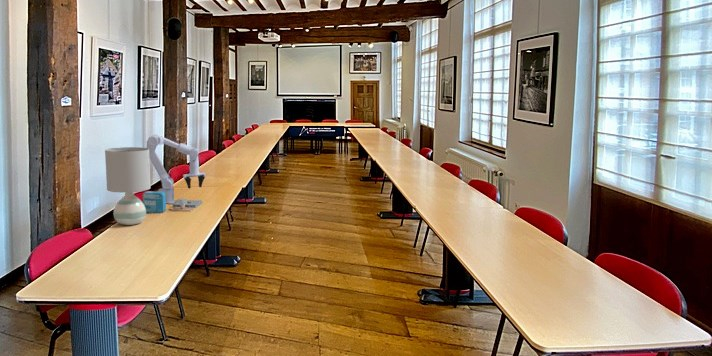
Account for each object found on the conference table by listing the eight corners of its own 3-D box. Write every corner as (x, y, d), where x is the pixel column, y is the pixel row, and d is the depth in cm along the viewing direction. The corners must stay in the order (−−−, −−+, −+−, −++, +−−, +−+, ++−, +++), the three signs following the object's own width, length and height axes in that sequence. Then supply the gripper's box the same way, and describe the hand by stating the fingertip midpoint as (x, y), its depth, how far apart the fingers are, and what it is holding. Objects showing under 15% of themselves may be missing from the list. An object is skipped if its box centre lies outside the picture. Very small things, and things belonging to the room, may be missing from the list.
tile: (170, 210, 325) (170, 209, 325) (175, 207, 333) (175, 207, 333) (190, 211, 325) (190, 210, 325) (194, 208, 333) (194, 207, 333)
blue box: (143, 212, 320) (142, 192, 318) (146, 210, 324) (145, 191, 322) (163, 213, 319) (162, 193, 317) (166, 211, 324) (165, 191, 322)
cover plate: (172, 207, 334) (172, 204, 334) (180, 202, 348) (180, 199, 348) (195, 208, 334) (195, 205, 334) (202, 203, 348) (202, 200, 348)
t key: (178, 208, 331) (177, 198, 330) (182, 207, 333) (181, 197, 331) (183, 210, 326) (182, 200, 325) (187, 209, 327) (186, 199, 326)
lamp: (99, 225, 288) (95, 150, 281) (129, 217, 308) (126, 146, 301) (131, 230, 280) (128, 152, 274) (160, 221, 300) (157, 148, 294)
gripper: (186, 168, 340) (187, 189, 343) (207, 166, 350) (208, 187, 352) (181, 167, 345) (182, 188, 348) (202, 165, 355) (202, 185, 358)
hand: (194, 187), depth 350 cm, fingers open, 7 cm apart
